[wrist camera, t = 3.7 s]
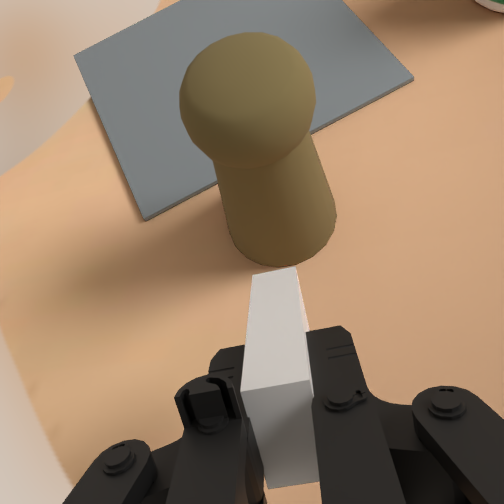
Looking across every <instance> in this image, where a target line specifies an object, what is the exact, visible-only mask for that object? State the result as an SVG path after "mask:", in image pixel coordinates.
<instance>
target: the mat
mask: <svg viewBox="0 0 504 504" xmlns="http://www.w3.org/2000/svg"><path fill="white" fill-rule="evenodd" d="M244 32H263V33H267V34H270V35H274V36H278V37H280V38H281V39H283V40H284V41H286V42H287V43H289V44H290V45H291V46H293V47H294V48H295V49H296V50H298V51H299V53H300V54H301V55H302V57H303V58H304V60H305V61H306V63H307V64H308V66H309V68H310V71H311V73H312V76H313V81H314V87H315V94H316V105H315V109H314V114H313V118H312V122H311V126H310V129H309V131H310V134H313V133H315V132H316V131H318V130H320V129H322V128H324V127H326V126H328V125H330V124H332V123H334V122H336V121H337V120H339V119H341V118H343V117H345V116H347V115H349V114H351V113H353V112H355V111H356V110H358V109H360V108H362V107H364V106H366V105H368V104H370V103H372V102H374V101H376V100H377V99H379V98H381V97H383V96H385V95H387V94H389V93H391V92H393V91H395V90H396V89H398V88H400V87H402V86H404V85H406V84H408V83H410V82H412V81H414V76H413V75H412V74H411V73H410V72H409V71H408V70H407V69H406V68H405V67H404V66H403V65H402V64H401V62H400V61H399V60H398V59H397V58H396V57H395V56H394V55H393V54H392V53H391V52H390V51H389V50H388V49H387V48H386V47H385V46H384V44H383V43H382V42H381V41H380V40H379V39H378V38H377V37H376V36H375V35H374V34H373V33H372V32H371V31H370V30H369V29H368V27H367V26H366V25H365V24H364V23H363V22H362V21H361V20H360V19H359V18H358V17H357V16H356V15H355V14H354V13H353V12H352V10H351V9H350V8H349V7H348V6H347V5H346V4H345V3H344V2H343V1H342V0H180V1H178V2H176V3H174V4H172V5H170V6H169V7H167V8H165V9H163V10H161V11H159V12H157V13H155V14H153V15H151V16H149V17H147V18H146V19H143V20H142V21H140V22H137V23H136V24H134V25H132V26H130V27H128V28H126V29H124V30H122V31H120V32H118V33H116V34H114V35H112V36H110V37H108V38H106V39H104V40H103V41H101V42H99V43H97V44H95V45H93V46H91V47H89V48H87V49H85V50H83V51H81V52H79V53H77V54H76V55H74V58H75V60H76V63H77V65H78V67H79V70H80V72H81V74H82V77H83V79H84V81H85V84H86V86H87V88H88V91H89V93H90V95H91V98H92V100H93V102H94V105H95V107H96V109H97V112H98V114H99V116H100V119H101V121H102V123H103V126H104V128H105V130H106V132H107V135H108V137H109V139H110V142H111V144H112V146H113V149H114V151H115V153H116V156H117V158H118V160H119V163H120V165H121V167H122V170H123V172H124V174H125V177H126V179H127V181H128V184H129V186H130V188H131V191H132V193H133V195H134V198H135V200H136V202H137V205H138V207H139V209H140V212H141V214H142V216H143V218H144V220H145V221H147V220H149V219H151V218H153V217H155V216H157V215H158V214H160V213H162V212H164V211H166V210H168V209H170V208H172V207H174V206H176V205H178V204H179V203H181V202H183V201H185V200H187V199H189V198H191V197H193V196H195V195H197V194H198V193H200V192H202V191H204V190H206V189H208V188H210V187H212V186H214V185H216V184H217V183H218V182H217V177H216V173H215V169H214V165H213V161H212V160H211V159H210V158H209V157H208V156H207V155H206V154H205V153H203V152H202V151H201V150H200V149H199V148H198V147H197V146H196V145H195V144H194V143H193V142H192V140H191V138H190V136H189V135H188V133H187V130H186V128H185V126H184V124H183V122H182V119H181V115H180V108H179V90H180V87H181V84H182V81H183V78H184V75H185V72H186V70H187V67H188V66H189V65H190V63H191V62H192V61H193V59H194V58H195V57H196V56H197V54H199V53H200V52H201V51H203V50H204V49H205V48H206V47H208V46H209V45H210V44H212V43H214V42H216V41H218V40H220V39H222V38H225V37H227V36H230V35H235V34H239V33H244Z"/></svg>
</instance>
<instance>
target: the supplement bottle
mask: <svg viewBox="0 0 504 504" xmlns="http://www.w3.org/2000/svg"><path fill="white" fill-rule="evenodd" d="M475 1H476V2H477V3H479V4H480V5H482V6H484V7H486V8H488V9H490V10H493V11H497V12H502V13H504V0H475Z"/></svg>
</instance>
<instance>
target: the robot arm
mask: <svg viewBox="0 0 504 504" xmlns="http://www.w3.org/2000/svg"><path fill="white" fill-rule="evenodd" d="M208 372H209V374H208V375H205V376H201V377H198V378H195V379H193V380H191V381H190V382H188V383H186V384H185V385H184V386H183V387H181V388H180V389H179V390H178V392H177V393H176V395H175V397H174V399H175V402H176V405H177V408H178V411H179V414H180V417H181V420H182V422H183V425H184V432H183V436H182V438H180V439H179V440H177V441H175V442H173V443H171V444H169V445H166V446H164V447H162V448H159V449H157V450H154V451H152V452H151V451H150V448H149V446H148V445H147V444H146V443H145V442H144V441H140V440H136V439H134V440H126V441H122V442H120V443H117V444H115V445H112V446H111V447H109V448H108V449H106V450H105V451H103V452H102V453H101V454H100V455H99V456H98V457H97V458H96V459H95V460H94V461H93V463H92V464H91V466H90V467H89V468H88V470H87V471H86V472H85V474H84V475H83V476H82V478H81V479H80V480H79V482H78V483H77V484H76V486H75V487H74V489H73V490H72V491H71V493H70V494H69V495H68V497H67V498H66V499H65V501H64V502H63V504H267V500H266V497H265V494H264V490H263V488H264V476H265V480H266V483H267V487H268V489H272V488H279V487H286V486H292V485H299V484H306V483H312V482H319V481H320V489H321V498H322V504H504V419H502V418H501V417H500V416H499V415H498V414H497V413H496V412H495V411H493V410H492V409H491V408H490V407H489V406H488V405H487V404H486V403H484V402H483V401H482V400H481V399H480V398H479V397H478V396H476V395H475V394H473V393H471V392H470V391H468V390H466V389H462V388H458V387H455V386H438V387H432V388H428V389H426V390H424V391H422V392H420V393H419V394H418V395H417V396H416V397H415V398H414V400H413V402H412V405H400V404H393V403H388V402H385V401H382V400H380V399H378V398H377V397H375V396H374V395H373V394H372V393H371V392H370V391H369V389H368V388H367V385H366V382H365V379H364V375H363V372H362V369H361V366H360V362H359V359H358V356H357V353H356V350H355V346H354V343H353V340H352V337H351V333H349V332H348V331H347V330H346V329H344V328H343V327H342V326H335V327H330V328H324V329H319V330H313V331H310V330H309V325H308V321H307V316H306V312H305V307H304V303H303V298H302V294H301V289H300V285H299V280H298V276H297V271H296V267H290V268H285V269H280V270H275V271H270V272H265V273H260V274H255V275H252V285H251V295H250V304H249V314H248V323H247V333H246V342H245V345H240V346H235V347H229V348H224V349H220V350H219V351H218V352H217V354H216V355H215V356H214V357H213V358H212V360H211V362H210V367H209V371H208Z"/></svg>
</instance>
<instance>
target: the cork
mask: <svg viewBox="0 0 504 504" xmlns="http://www.w3.org/2000/svg"><path fill="white" fill-rule="evenodd" d="M315 105H316V94H315V87H314V81H313V76H312V73H311V71H310V68H309V66H308V64H307V63H306V61H305V60H304V58H303V57H302V55H301V54H300V53H299V51H298V50H296V49H295V48H294V47H293V46H291V45H290V44H289V43H287V42H286V41H284V40H283V39H281V38H280V37H278V36H274V35H270V34H267V33H263V32H244V33H239V34H235V35H230V36H227V37H225V38H222V39H220V40H218V41H216V42H214V43H212V44H210V45H209V46H208V47H206V48H205V49H204V50H203V51H201V52H200V53H199V54H197V56H196V57H195V58H194V59H193V61H192V62H191V63H190V65H189V66H188V67H187V70H186V72H185V75H184V78H183V81H182V84H181V87H180V90H179V108H180V115H181V119H182V122H183V124H184V126H185V128H186V130H187V133H188V135H189V136H190V138H191V140H192V142H193V143H194V144H195V145H196V146H197V147H198V148H199V149H200V150H201V151H202V152H203V153H205V154H206V155H207V156H208V157H209V158H210V159H211V160H212V161H213V165H214V169H215V173H216V177H217V182H218V186H219V190H220V194H221V198H222V203H223V207H224V211H225V215H226V220H227V224H228V228H229V232H230V235H231V237H232V239H233V241H234V244H235V246H236V247H237V248H238V249H239V250H240V251H241V252H242V253H243V254H244V255H245V256H246V257H247V258H249V259H251V260H253V261H255V262H257V263H259V264H261V265H267V266H274V267H283V266H290V265H296V264H298V263H301V262H303V261H305V260H307V259H309V258H311V257H313V256H314V255H315V254H316V253H317V252H319V251H320V250H321V249H322V248H323V247H324V246H325V245H326V244H327V242H328V240H329V238H330V237H331V235H332V233H333V231H334V228H335V222H336V217H337V214H336V208H335V202H334V199H333V196H332V193H331V190H330V187H329V185H328V182H327V179H326V176H325V173H324V171H323V168H322V165H321V162H320V159H319V157H318V154H317V151H316V148H315V145H314V143H313V140H312V137H311V134H310V131H309V129H310V126H311V122H312V118H313V114H314V109H315Z"/></svg>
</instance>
